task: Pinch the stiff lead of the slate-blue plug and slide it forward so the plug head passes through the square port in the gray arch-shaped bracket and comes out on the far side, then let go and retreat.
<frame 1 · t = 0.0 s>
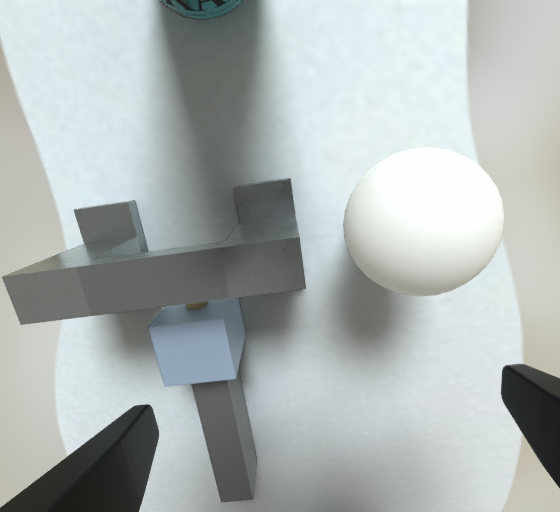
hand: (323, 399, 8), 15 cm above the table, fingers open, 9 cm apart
plug: (211, 315, 24), on the table
lightbulb: (369, 201, 22), on the table
gray arch-shaped bracket: (195, 244, 22), on the table
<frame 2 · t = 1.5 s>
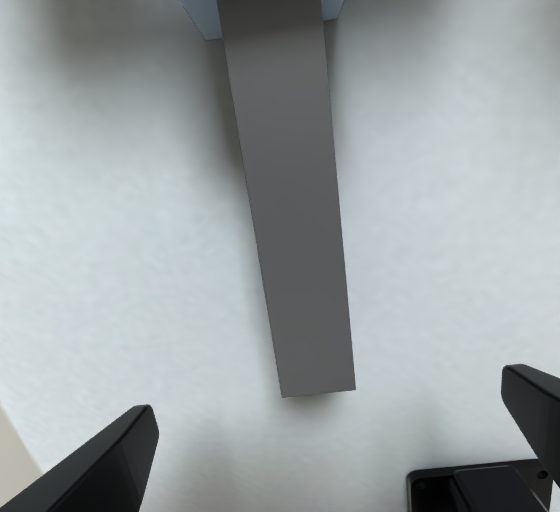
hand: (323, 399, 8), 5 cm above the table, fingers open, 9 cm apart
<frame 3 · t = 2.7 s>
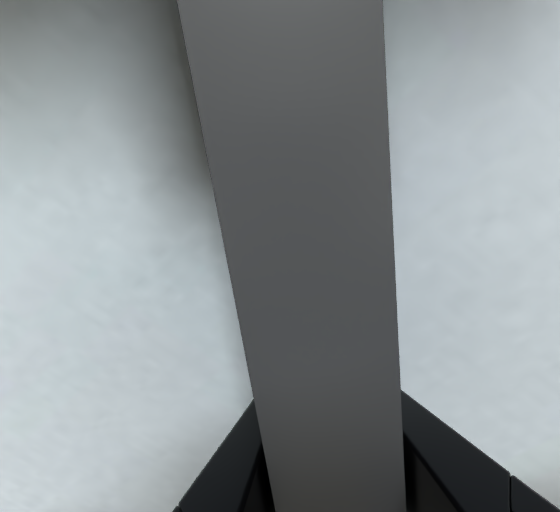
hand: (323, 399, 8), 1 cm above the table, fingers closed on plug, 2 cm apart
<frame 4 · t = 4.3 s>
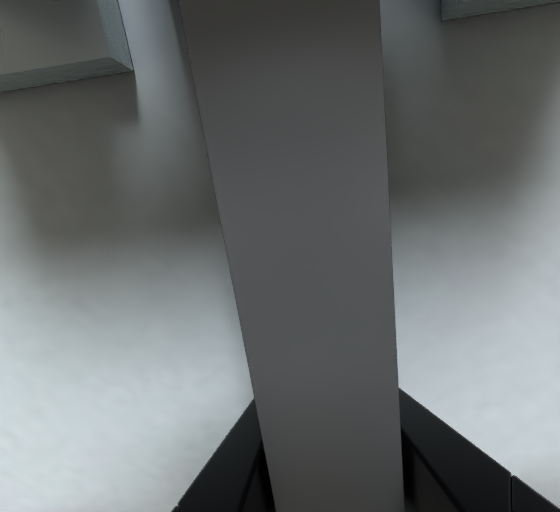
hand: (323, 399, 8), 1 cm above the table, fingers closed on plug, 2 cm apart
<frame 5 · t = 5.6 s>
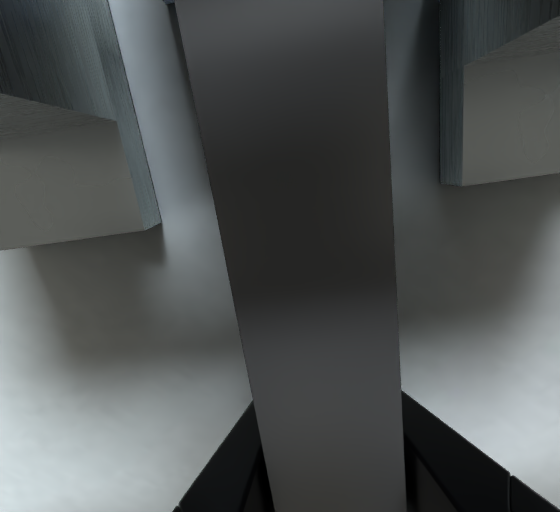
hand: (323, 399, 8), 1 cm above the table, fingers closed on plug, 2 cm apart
gray arch-shaped bracket: (277, 39, 7), on the table
when the fingers open (1 cm above the table, at t = 6.1 s): plug stays where it is, on the table.
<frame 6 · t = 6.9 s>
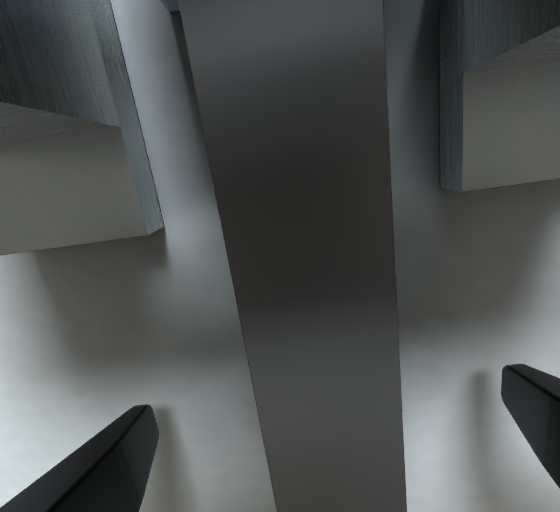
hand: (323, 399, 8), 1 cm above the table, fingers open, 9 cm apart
gray arch-shaped bracket: (279, 46, 7), on the table
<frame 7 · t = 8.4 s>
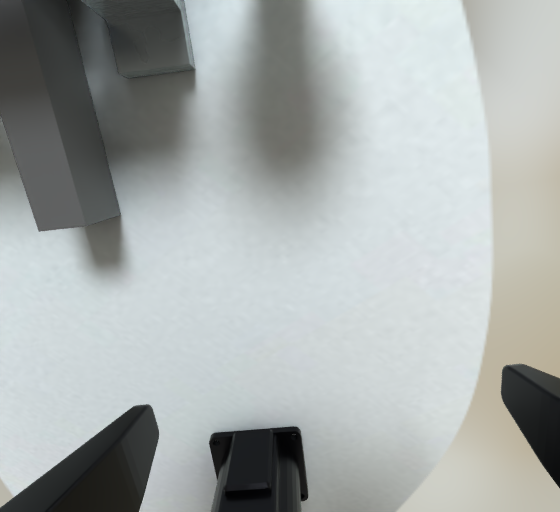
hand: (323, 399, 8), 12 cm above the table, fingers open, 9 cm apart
gray arch-shaped bracket: (45, 9, 16), on the table
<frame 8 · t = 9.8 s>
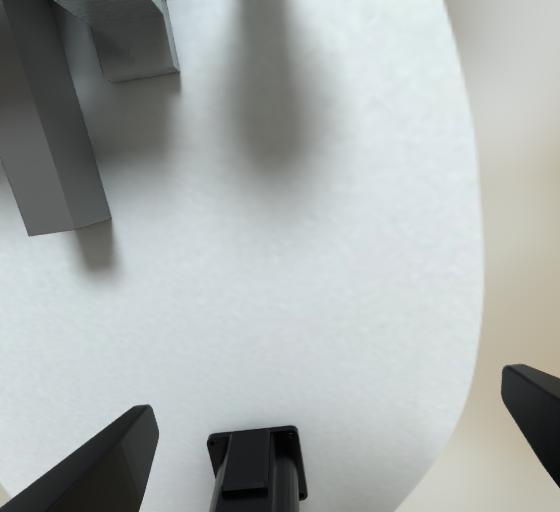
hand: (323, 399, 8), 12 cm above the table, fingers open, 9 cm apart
gray arch-shaped bracket: (30, 17, 17), on the table
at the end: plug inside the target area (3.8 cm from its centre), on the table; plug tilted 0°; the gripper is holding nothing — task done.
